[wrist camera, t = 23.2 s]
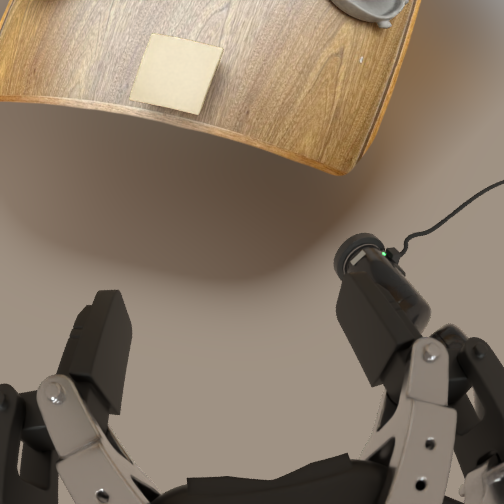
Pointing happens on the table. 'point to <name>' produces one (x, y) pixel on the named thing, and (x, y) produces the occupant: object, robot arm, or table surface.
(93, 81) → the table surface
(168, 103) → the stand
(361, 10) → the dish
